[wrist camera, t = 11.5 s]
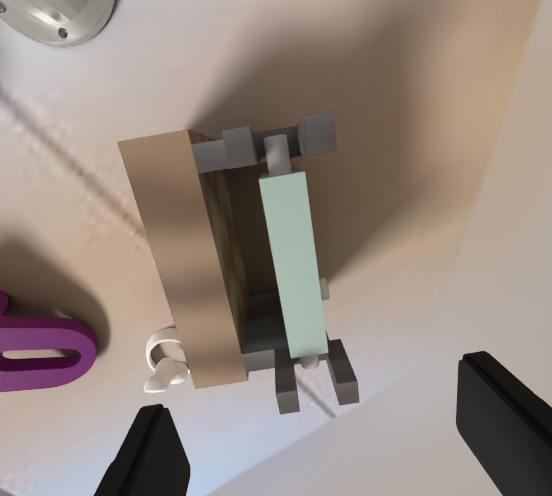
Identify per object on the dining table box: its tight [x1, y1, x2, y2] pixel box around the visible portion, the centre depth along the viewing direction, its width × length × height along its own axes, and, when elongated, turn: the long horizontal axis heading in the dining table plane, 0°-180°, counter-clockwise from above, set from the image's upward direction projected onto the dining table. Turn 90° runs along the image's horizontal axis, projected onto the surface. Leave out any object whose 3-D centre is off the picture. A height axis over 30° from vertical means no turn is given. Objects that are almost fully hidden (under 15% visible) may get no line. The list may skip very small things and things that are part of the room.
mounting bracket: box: [0, 291, 97, 392], centre depth 36 cm, size 10×8×18 cm
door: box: [259, 134, 329, 370], centre depth 25 cm, size 19×4×10 cm, turn 9°
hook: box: [144, 328, 190, 392], centre depth 36 cm, size 8×12×7 cm
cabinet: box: [117, 111, 359, 414], centre depth 26 cm, size 22×14×17 cm, turn 9°
